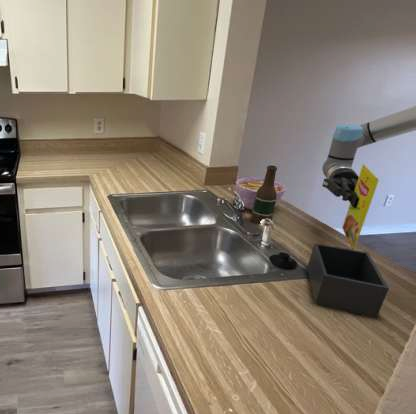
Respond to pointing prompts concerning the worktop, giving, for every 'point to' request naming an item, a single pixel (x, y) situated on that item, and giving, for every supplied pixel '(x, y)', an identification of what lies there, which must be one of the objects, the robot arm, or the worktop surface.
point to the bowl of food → (255, 190)
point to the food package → (360, 205)
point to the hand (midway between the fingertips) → (360, 203)
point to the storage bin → (346, 280)
